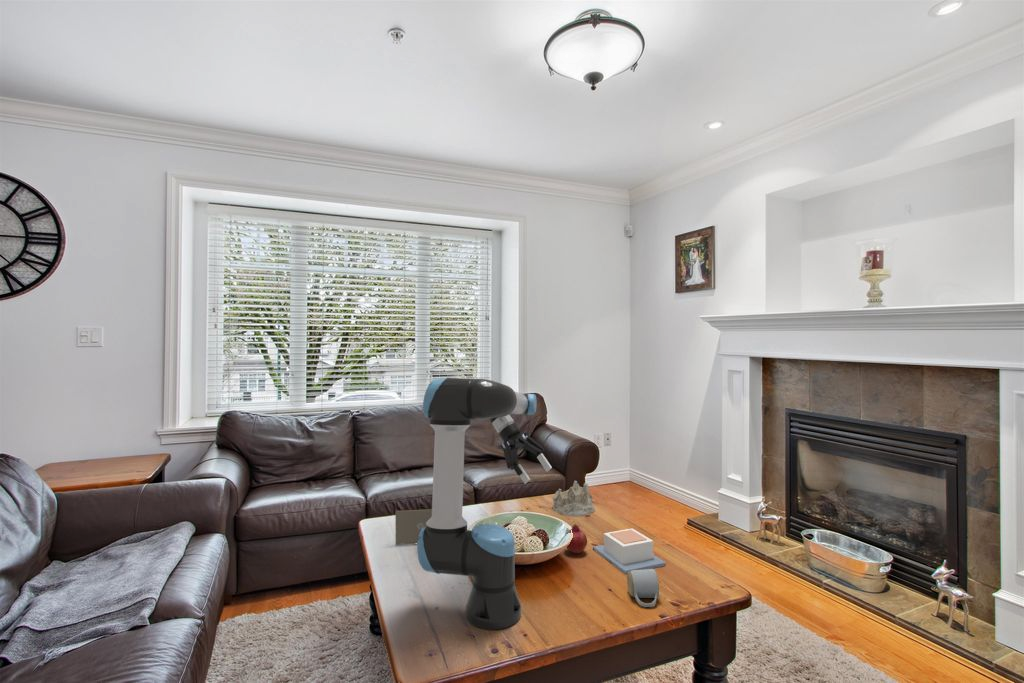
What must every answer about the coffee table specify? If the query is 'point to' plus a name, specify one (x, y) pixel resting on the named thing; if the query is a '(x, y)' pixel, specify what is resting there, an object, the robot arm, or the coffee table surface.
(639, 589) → the ceramic mug
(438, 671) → the coffee table surface
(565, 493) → the miniature stone castle
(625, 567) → the pedestal board
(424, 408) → the robot arm
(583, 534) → the fruit
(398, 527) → the laptop
